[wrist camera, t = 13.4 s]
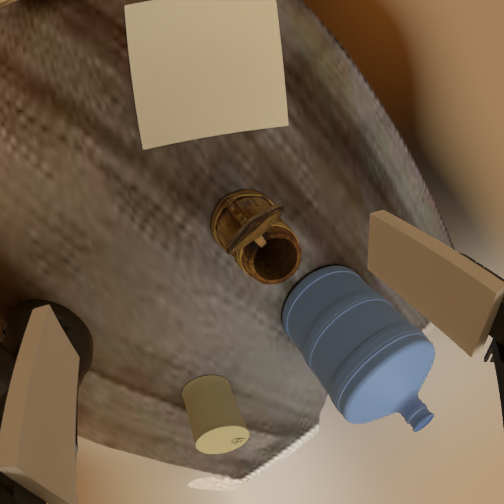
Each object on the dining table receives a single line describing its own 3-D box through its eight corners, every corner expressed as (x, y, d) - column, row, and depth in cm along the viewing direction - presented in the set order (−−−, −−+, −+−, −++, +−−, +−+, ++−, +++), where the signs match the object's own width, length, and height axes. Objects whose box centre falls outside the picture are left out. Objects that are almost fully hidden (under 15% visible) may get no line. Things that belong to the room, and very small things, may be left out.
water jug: (266, 297, 50) (365, 445, 26) (348, 246, 51) (478, 353, 27) (296, 352, 58) (376, 471, 34) (365, 307, 59) (461, 406, 35)
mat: (143, 149, 34) (142, 150, 34) (124, 7, 26) (124, 5, 25) (286, 125, 39) (288, 125, 38) (273, -5, 30) (275, -6, 29)
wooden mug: (233, 147, 38) (301, 182, 23) (286, 224, 45) (361, 292, 30) (175, 192, 38) (203, 259, 23) (236, 264, 45) (290, 349, 30)
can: (222, 406, 59) (240, 454, 48) (177, 405, 55) (190, 457, 44) (236, 375, 56) (258, 426, 45) (187, 373, 52) (203, 429, 41)
